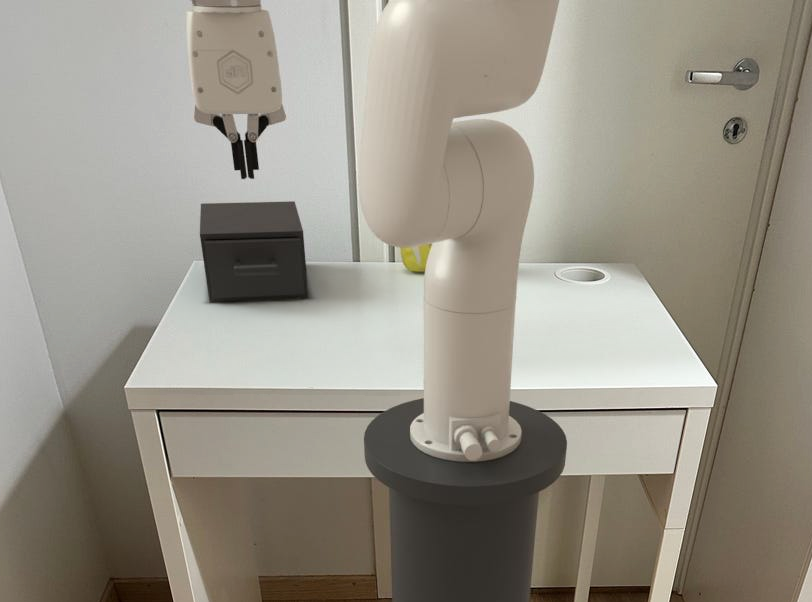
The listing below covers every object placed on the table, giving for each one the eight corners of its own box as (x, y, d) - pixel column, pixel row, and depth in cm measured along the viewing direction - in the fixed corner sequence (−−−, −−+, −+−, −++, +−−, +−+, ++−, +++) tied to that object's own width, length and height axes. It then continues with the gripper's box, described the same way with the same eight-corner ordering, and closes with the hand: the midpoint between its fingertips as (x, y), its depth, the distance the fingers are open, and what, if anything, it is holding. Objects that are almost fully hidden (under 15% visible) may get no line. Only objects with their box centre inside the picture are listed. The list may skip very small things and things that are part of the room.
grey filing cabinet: (308, 298, 138) (303, 230, 132) (209, 302, 135) (199, 234, 129) (299, 263, 151) (294, 201, 145) (209, 266, 149) (200, 203, 143)
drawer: (306, 304, 133) (302, 248, 128) (212, 308, 131) (204, 251, 126) (296, 262, 149) (292, 211, 144) (212, 265, 146) (205, 213, 142)
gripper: (154, -4, 97) (184, 185, 108) (296, -3, 100) (310, 181, 111) (158, -7, 103) (186, 172, 114) (291, -6, 105) (306, 169, 117)
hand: (247, 176), depth 112 cm, fingers closed
